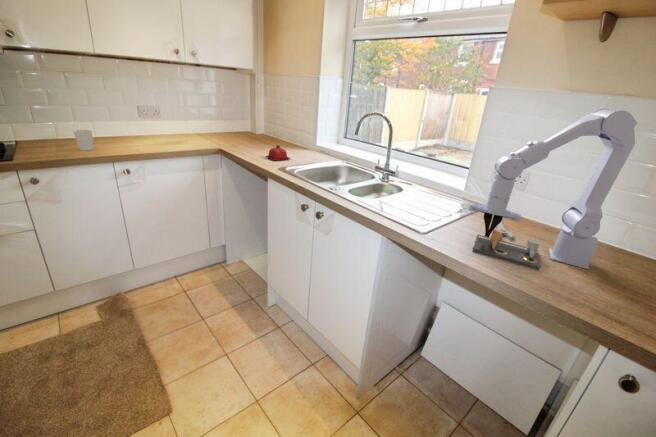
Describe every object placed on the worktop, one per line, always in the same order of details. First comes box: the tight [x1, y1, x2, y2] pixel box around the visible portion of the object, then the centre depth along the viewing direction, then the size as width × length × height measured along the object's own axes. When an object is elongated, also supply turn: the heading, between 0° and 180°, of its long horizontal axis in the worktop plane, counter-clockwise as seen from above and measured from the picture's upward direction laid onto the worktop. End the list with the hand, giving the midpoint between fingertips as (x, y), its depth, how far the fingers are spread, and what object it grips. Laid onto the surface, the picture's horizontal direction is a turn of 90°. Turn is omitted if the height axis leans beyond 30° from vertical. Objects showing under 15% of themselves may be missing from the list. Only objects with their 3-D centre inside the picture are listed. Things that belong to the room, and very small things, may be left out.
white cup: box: [73, 129, 95, 152], centre depth 174 cm, size 8×8×10 cm
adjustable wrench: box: [492, 215, 514, 241], centre depth 118 cm, size 25×6×2 cm, turn 156°
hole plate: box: [472, 234, 541, 271], centre depth 98 cm, size 18×12×5 cm, turn 60°
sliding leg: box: [490, 228, 502, 249], centre depth 100 cm, size 2×8×4 cm, turn 150°
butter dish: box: [265, 144, 291, 162], centre depth 189 cm, size 12×12×8 cm
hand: (487, 235), depth 102 cm, fingers closed
